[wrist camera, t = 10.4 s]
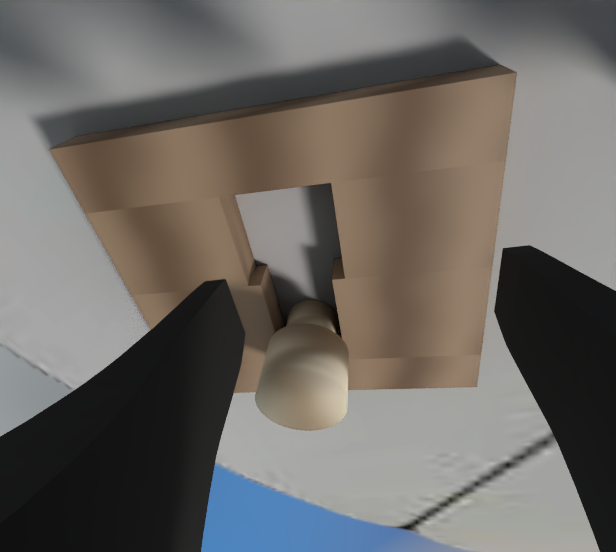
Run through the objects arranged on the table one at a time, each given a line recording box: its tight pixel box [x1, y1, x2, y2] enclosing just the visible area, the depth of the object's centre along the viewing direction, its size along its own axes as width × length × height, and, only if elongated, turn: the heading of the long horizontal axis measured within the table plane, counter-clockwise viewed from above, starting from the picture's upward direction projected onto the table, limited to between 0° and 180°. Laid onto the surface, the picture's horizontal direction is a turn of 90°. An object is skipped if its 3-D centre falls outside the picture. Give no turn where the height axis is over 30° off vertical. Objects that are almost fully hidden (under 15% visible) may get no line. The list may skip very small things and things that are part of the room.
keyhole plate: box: [49, 65, 517, 393], centre depth 22 cm, size 20×18×2 cm
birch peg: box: [255, 300, 349, 431], centre depth 22 cm, size 5×5×6 cm
